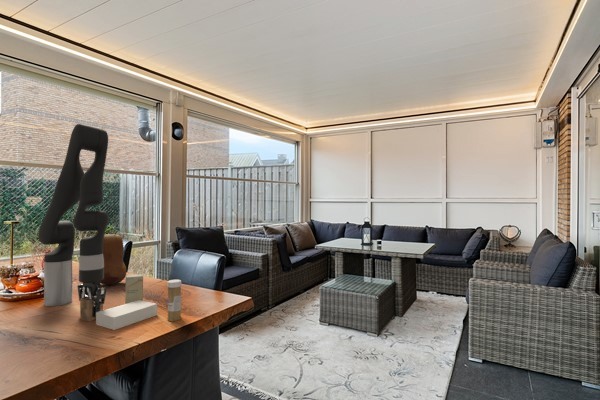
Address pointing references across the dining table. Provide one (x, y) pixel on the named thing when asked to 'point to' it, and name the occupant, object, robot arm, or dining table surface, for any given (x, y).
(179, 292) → the sprinkles bottle
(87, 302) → the walnut block
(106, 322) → the white block
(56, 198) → the robot arm
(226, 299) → the dining table surface
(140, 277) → the skincare box
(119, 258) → the butternut squash
